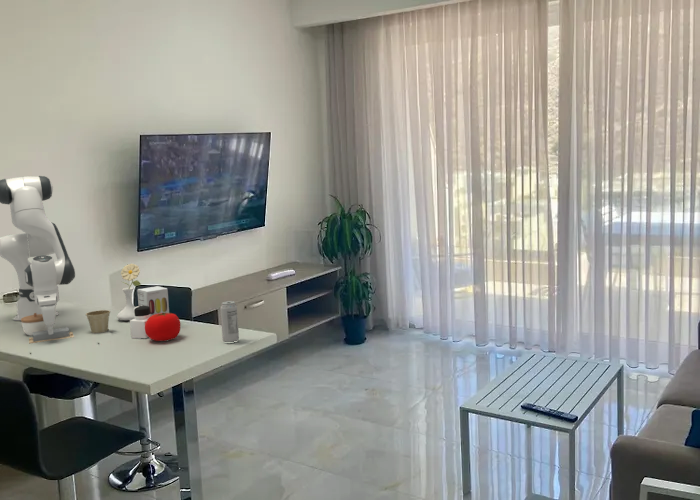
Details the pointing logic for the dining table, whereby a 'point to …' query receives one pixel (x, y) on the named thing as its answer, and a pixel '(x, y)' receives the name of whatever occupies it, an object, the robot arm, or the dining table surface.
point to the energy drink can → (229, 321)
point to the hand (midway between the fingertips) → (50, 331)
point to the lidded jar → (33, 324)
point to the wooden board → (50, 339)
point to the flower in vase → (129, 291)
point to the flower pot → (98, 320)
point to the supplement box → (154, 299)
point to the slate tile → (56, 334)
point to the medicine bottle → (139, 322)
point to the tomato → (162, 326)
